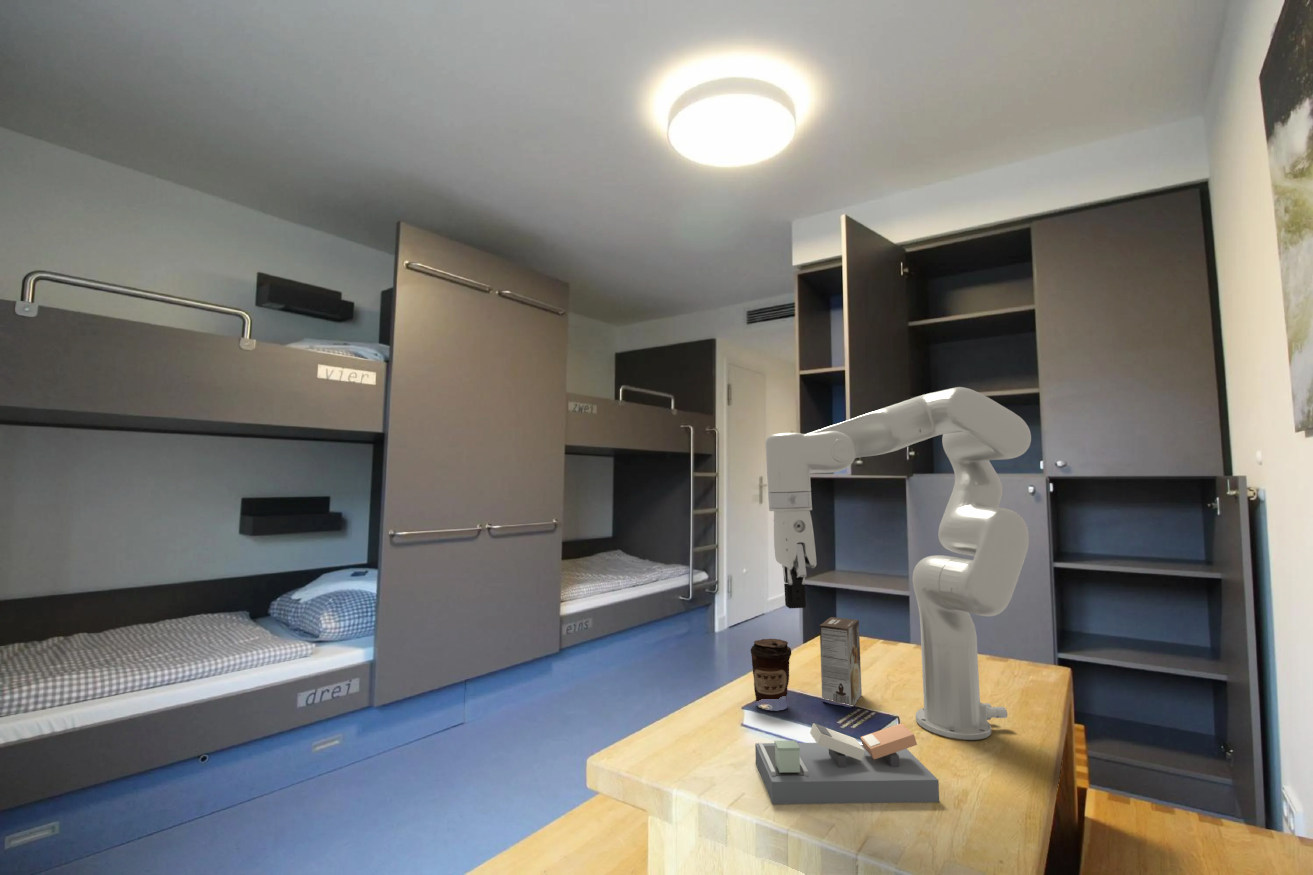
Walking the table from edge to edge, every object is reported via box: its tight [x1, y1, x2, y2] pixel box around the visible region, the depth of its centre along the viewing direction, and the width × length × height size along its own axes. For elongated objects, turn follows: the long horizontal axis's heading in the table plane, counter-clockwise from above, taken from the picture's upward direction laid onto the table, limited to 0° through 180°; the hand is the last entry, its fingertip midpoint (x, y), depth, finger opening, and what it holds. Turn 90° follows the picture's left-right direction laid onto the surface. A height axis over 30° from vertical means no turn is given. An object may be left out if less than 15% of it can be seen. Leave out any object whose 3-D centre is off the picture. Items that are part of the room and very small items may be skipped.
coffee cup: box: [750, 638, 792, 702], centre depth 114 cm, size 9×8×13 cm
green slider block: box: [773, 740, 800, 773], centre depth 82 cm, size 3×2×3 cm
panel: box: [754, 742, 940, 805], centre depth 85 cm, size 24×12×5 cm, turn 91°
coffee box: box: [819, 616, 863, 706], centre depth 118 cm, size 9×6×16 cm
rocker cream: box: [809, 723, 865, 761], centre depth 85 cm, size 7×4×2 cm, turn 91°
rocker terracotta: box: [860, 722, 918, 759], centre depth 85 cm, size 7×4×2 cm, turn 92°
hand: (795, 606), depth 97 cm, fingers closed
